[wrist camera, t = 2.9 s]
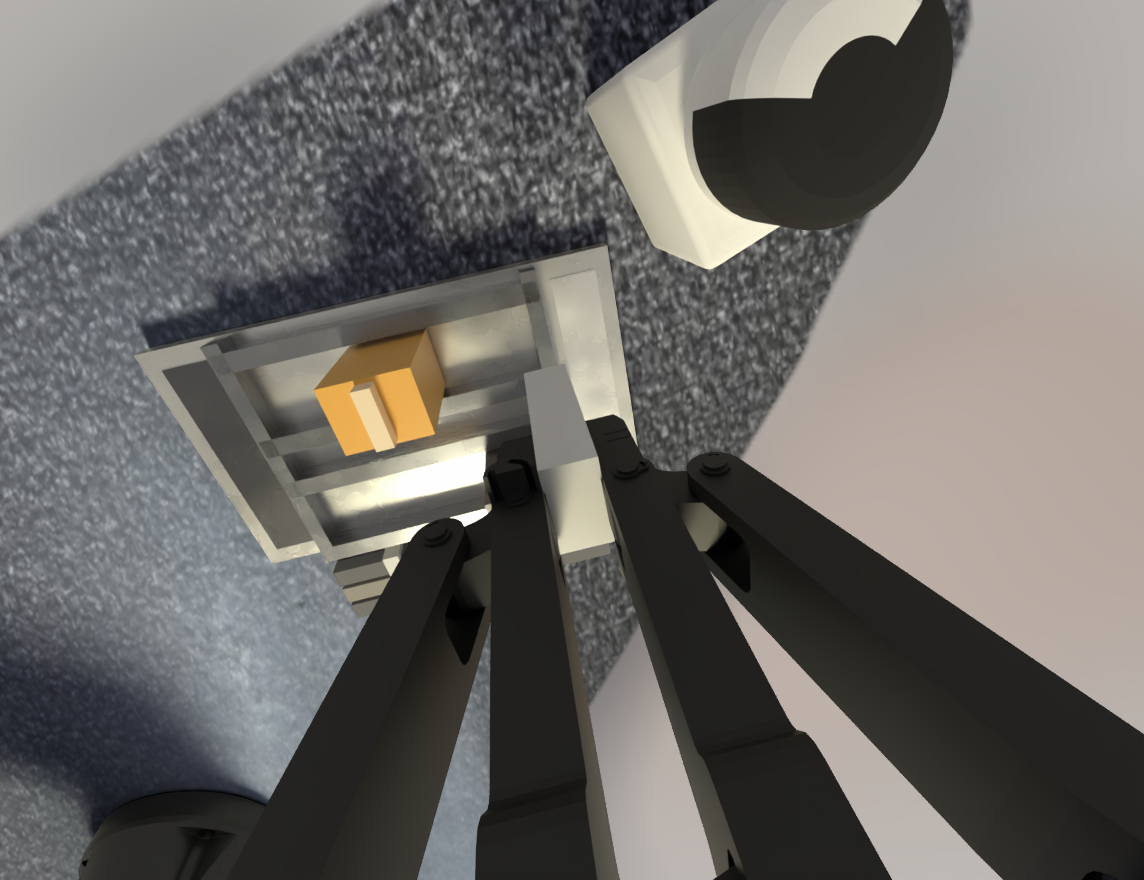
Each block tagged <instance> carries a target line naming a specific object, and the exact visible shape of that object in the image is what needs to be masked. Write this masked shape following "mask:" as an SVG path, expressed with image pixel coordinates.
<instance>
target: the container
mask: <svg viewBox="0 0 1144 880" xmlns="http://www.w3.org/2000/svg"><path fill="white" fill-rule="evenodd" d="M952 63H953V43H952V35H951V28H950V23H949V19H948V16H947V12H946V9H945V6H944V3H943V1H942V0H717V1H716V2H715V3H713V4H712V5H710V6H709V7H708V8H706V9H705V10H703V11H702V12H701V13H699V14H698V15H697V16H695V17H694V18H692V19H691V20H690V21H688V22H687V23H685V24H684V25H683V26H681V27H680V28H679V29H677V30H676V31H674V32H673V33H672V34H670V35H669V36H667V37H666V38H665V39H663V40H662V41H661V42H659V43H658V44H656V45H655V46H654V47H652V48H651V49H649V50H648V51H647V52H645V53H644V54H643V55H641V56H640V57H638V58H637V59H636V60H634V61H633V62H631V63H630V64H629V65H627V66H626V67H625V68H623V69H622V70H621V71H620V72H618V73H617V74H616V75H615V76H613V77H612V78H611V79H610V80H608V81H607V82H606V83H605V84H603V85H602V86H601V87H600V88H598V89H597V90H596V91H595V92H593V93H592V94H591V95H590V96H589V97H588V98H587V101H586V107H587V110H588V112H589V114H590V117H591V119H592V121H593V123H594V125H595V127H596V129H597V131H598V133H599V135H600V137H601V139H602V141H603V143H604V145H605V147H606V149H607V151H608V154H609V156H610V158H611V160H612V162H613V164H614V166H615V168H616V170H617V172H618V174H619V176H620V178H621V180H622V182H623V184H624V186H625V188H626V191H627V193H628V195H629V197H630V199H631V201H632V203H633V205H634V207H635V209H636V211H637V213H638V215H639V217H640V219H641V221H642V223H643V225H644V228H645V230H646V232H647V234H648V236H649V238H650V240H651V242H652V244H653V245H654V246H655V247H656V248H659V249H661V250H663V251H666V252H668V253H670V254H673V255H675V256H677V257H680V258H682V259H684V260H686V261H689V262H691V263H693V264H696V265H698V266H700V267H703V268H705V269H712V268H715V267H717V266H718V265H720V264H721V263H723V262H725V261H726V260H728V259H729V258H731V257H732V256H734V255H736V254H737V253H739V252H740V251H742V250H743V249H745V248H746V247H748V246H750V245H751V244H753V243H754V242H756V241H757V240H759V239H761V238H762V237H764V236H765V235H767V234H768V233H770V232H771V231H773V230H775V229H776V228H778V227H779V226H782V227H788V228H794V229H801V230H823V229H828V228H833V227H837V226H840V225H843V224H846V223H849V222H851V221H853V220H855V219H857V218H859V217H861V216H863V215H864V214H866V213H867V212H869V211H870V210H872V209H873V208H875V207H876V206H878V205H879V204H880V203H881V202H883V201H884V200H885V199H886V198H887V197H889V196H890V195H891V194H892V193H893V192H894V191H895V190H896V189H897V188H898V186H899V185H900V184H901V183H902V182H903V181H904V180H905V179H906V177H907V176H908V175H909V173H910V172H911V171H912V170H913V168H914V167H915V165H916V164H917V162H918V160H919V159H920V158H921V156H922V155H923V153H924V151H925V150H926V148H927V146H928V144H929V142H930V140H931V138H932V136H933V135H934V133H935V131H936V128H937V126H938V123H939V121H940V118H941V116H942V113H943V110H944V107H945V103H946V100H947V97H948V92H949V86H950V81H951V74H952Z"/></svg>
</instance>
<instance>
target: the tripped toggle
mask: <svg viewBox="0 0 1144 880" xmlns="http://www.w3.org/2000/svg"><path fill="white" fill-rule="evenodd" d="M445 385H446V384H445V381H444V378H443V375H442V372H441V369H440V366H439V364H438V361H437V358H436V355H435V352H434V349H433V346H432V344H431V341H430V338H429V335H428V332H427V329H426V328H424V329H420V330H415V331H411V332H407V333H403V334H398V335H394V336H390V337H386V338H381V339H377V340H373V341H369V342H364V343H360V344H356V345H352V346H349V347H348V349H347V350H346V351H345V352H344V353H343V355H342V356H341V357H340V358H339V360H338V361H337V362H336V363H335V364H334V366H333V367H332V368H331V369H330V371H329V372H328V373H327V374H326V375H325V377H324V378H323V379H322V380H321V382H320V383H319V384H318V385H317V386H316V388H315V389H314V392H315V395H316V397H317V399H318V401H319V403H320V405H321V407H322V409H323V411H324V413H325V415H326V417H327V419H328V421H329V423H330V425H331V427H332V429H333V431H334V433H335V435H336V437H337V439H338V441H339V443H340V445H341V447H342V449H343V451H344V453H345V455H346V456H348V455H352V454H356V453H360V452H364V451H368V450H372V449H375V450H376V452H380V451H384V450H388V449H392V448H395V446H396V444H397V443H401V442H405V441H410V440H414V439H418V438H422V437H426V436H430V435H434V434H435V433H436V428H437V423H438V419H439V414H440V409H441V404H442V400H443V395H444V390H445Z"/></svg>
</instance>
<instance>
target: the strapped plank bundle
mask: <svg viewBox="0 0 1144 880" xmlns="http://www.w3.org/2000/svg"><path fill="white" fill-rule="evenodd" d="M408 544H409V543H408ZM408 544H404V545H403V544H399V545H395V546H391V547H387V548H385V549H384V550H380V551H376V552H372V553H368V554H364V555H360V556H356V557H352V558H348V559H344V560H340V561H337V564H336V566H335V569H334V571H333V575H334V577H335V579H336V580H337V582H338V584H339V585H340V587H341V586H343V589H342V590H343V592H344V594H345V595H346V597H347V599H348V601H349V602H352V607H353V609H354V611H355V612H356V614H357V616H358V617H363V616H367V615H370V614H371V612H372V610H373V608H374V607H375V605H376V603H377V601H378V599H379V597H380V596H381V594H382V592H383V590H384V588H385V586H386V584H387V583H388V581H389V579H390V577H391V575H392V573H393V572H394V570H395V568H396V566H397V564H398V562H399V561H400V559H401V557H402V555H403V553H404V551H405V550H406V548H407V546H408ZM610 553H611V551H610V547H609V543H606V544H602V545H598V546H594V547H590V548H586V549H582V550H577V551H573V552H569V553H565V554H561V555H560V556H561V559H562V563H563V565H567V564H571V563H575V562H579V561H583V560H587V559H591V558H595V557H599V556H603V555H606V554H610Z"/></svg>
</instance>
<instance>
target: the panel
mask: <svg viewBox="0 0 1144 880" xmlns="http://www.w3.org/2000/svg"><path fill="white" fill-rule="evenodd" d="M424 328H426V329H427V332H428V335H429V338H430V341H431V344H432V346H433V349H434V352H435V355H436V358H437V361H438V364H439V366H440V369H441V372H442V375H443V378H444V381H445V384H446V385H445V390H444V395H443V400H442V404H441V409H440V414H439V419H438V423H437V428H436V433H435V434H434V435H430V436H426V437H422V438H418V439H414V440H410V441H405V442H401V443H397V444H396V446H395V448H392V449H388V450H384V451H380V452H376V450H375V449H372V450H368V451H364V452H360V453H356V454H352V455H348V456H346V455H345V453H344V451H343V449H342V447H341V445H340V443H339V441H338V439H337V437H336V435H335V433H334V431H333V429H332V427H331V425H330V423H329V421H328V419H327V417H326V415H325V413H324V411H323V409H322V407H321V405H320V403H319V401H318V399H317V397H316V395H315V392H314V389H315V388H316V386H317V385H318V384H319V383H320V382H321V380H322V379H323V378H324V377H325V375H326V374H327V373H328V372H329V371H330V369H331V368H332V367H333V366H334V364H335V363H336V362H337V361H338V360H339V358H340V357H341V356H342V355H343V353H344V352H345V351H346V350H347V349H348V347H349V346H352V345H356V344H360V343H364V342H369V341H373V340H377V339H381V338H386V337H390V336H394V335H398V334H403V333H407V332H411V331H415V330H420V329H424ZM134 356H135V358H136V359H137V361H138V362H139V364H140V365H141V367H142V368H143V370H144V371H145V373H146V374H147V376H148V377H149V379H150V380H151V382H152V383H153V385H154V386H155V388H156V389H157V391H158V392H159V394H160V395H161V397H162V398H163V400H164V401H165V403H166V404H167V406H168V407H169V409H170V410H171V412H172V413H173V415H174V416H175V418H176V419H177V421H178V422H179V424H180V425H181V427H182V428H183V430H184V431H185V433H186V434H187V436H188V437H189V439H190V440H191V442H192V443H193V445H194V446H195V448H196V449H197V451H198V452H199V454H200V455H201V457H202V458H203V460H204V461H205V463H206V464H207V466H208V467H209V469H210V470H211V472H212V473H213V475H214V476H215V478H216V479H217V481H218V482H219V484H220V485H221V487H222V488H223V490H224V492H225V493H226V495H227V496H228V498H229V499H230V501H231V502H232V504H233V505H234V507H235V508H236V510H237V511H238V513H239V514H240V516H241V517H242V519H243V520H244V522H245V523H246V525H247V526H248V528H249V529H250V531H251V532H252V534H253V535H254V537H255V538H256V540H257V541H258V543H259V544H260V546H261V547H262V549H263V550H264V552H265V553H266V555H267V556H268V558H269V559H270V561H271V562H272V564H274V563H278V562H282V561H286V560H290V559H294V558H298V557H302V556H306V555H310V554H314V553H318V552H321V554H322V555H323V557H324V559H325V560H326V562H331V561H335V560H339V559H343V558H347V557H351V556H355V555H359V554H363V553H367V552H371V551H375V550H379V549H383V548H387V547H391V546H395V545H399V544H403V543H407V542H410V540H411V538H412V537H413V536H414V535H415V533H416V532H417V531H418V530H419V529H421V528H422V527H423V526H425V525H426V524H428V523H430V522H432V521H435V520H438V519H443V518H456V519H458V520H460V521H462V523H463V525H464V526H466V525H468V524H471V523H473V522H475V521H477V520H479V519H480V518H482V517H484V516H485V515H486V514H487V511H486V509H485V506H484V501H485V485H484V482H483V479H482V477H483V474H484V471H485V452H486V451H490V450H494V449H498V448H500V446H501V445H502V443H503V442H504V441H508V440H512V439H516V438H521V437H525V436H529V435H532V430H531V422H530V415H529V408H528V401H527V394H526V387H525V380H524V373H527V372H531V371H536V370H540V369H544V368H548V367H552V366H557V365H561V364H565V366H566V369H567V372H568V374H569V377H570V380H571V383H572V386H573V388H574V391H575V394H576V397H577V400H578V402H579V405H580V408H581V411H582V414H583V416H584V419H585V421H587V420H591V419H595V418H599V417H604V416H608V415H612V414H614V415H616V416H618V417H620V418H621V419H623V420H624V421H625V423H626V425H627V427H628V430H629V431H630V433H631V435H632V437H633V439H634V441H635V443H636V445H637V440H636V433H635V426H634V420H633V413H632V406H631V400H630V393H629V387H628V380H627V373H626V367H625V360H624V354H623V347H622V340H621V334H620V327H619V320H618V314H617V307H616V301H615V294H614V287H613V281H612V274H611V267H610V261H609V254H608V248H607V245H606V244H604V243H599V244H595V245H590V246H586V247H582V248H577V249H573V250H569V251H564V252H560V253H556V254H552V255H547V256H543V257H539V258H534V259H530V260H526V261H521V262H517V263H513V264H508V265H504V266H500V267H496V268H491V269H487V270H483V271H478V272H474V273H470V274H465V275H461V276H457V277H452V278H448V279H444V280H440V281H435V282H431V283H427V284H422V285H418V286H414V287H409V288H405V289H401V290H396V291H392V292H388V293H384V294H379V295H375V296H371V297H366V298H362V299H358V300H353V301H349V302H345V303H340V304H336V305H332V306H327V307H323V308H319V309H315V310H310V311H306V312H302V313H297V314H293V315H289V316H284V317H280V318H276V319H271V320H267V321H263V322H259V323H254V324H250V325H246V326H241V327H237V328H233V329H228V330H224V331H220V332H215V333H211V334H207V335H203V336H198V337H194V338H190V339H185V340H181V341H177V342H172V343H168V344H164V345H159V346H155V347H151V348H148V349H146V350H144V351H142V352H140V353H138V354H136V355H134ZM637 447H638V446H637Z"/></svg>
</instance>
